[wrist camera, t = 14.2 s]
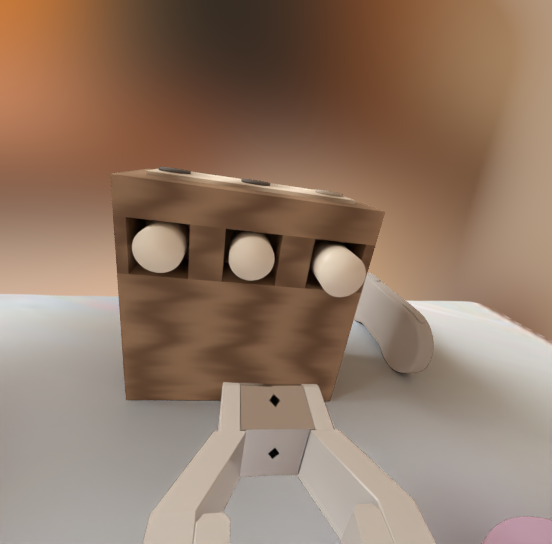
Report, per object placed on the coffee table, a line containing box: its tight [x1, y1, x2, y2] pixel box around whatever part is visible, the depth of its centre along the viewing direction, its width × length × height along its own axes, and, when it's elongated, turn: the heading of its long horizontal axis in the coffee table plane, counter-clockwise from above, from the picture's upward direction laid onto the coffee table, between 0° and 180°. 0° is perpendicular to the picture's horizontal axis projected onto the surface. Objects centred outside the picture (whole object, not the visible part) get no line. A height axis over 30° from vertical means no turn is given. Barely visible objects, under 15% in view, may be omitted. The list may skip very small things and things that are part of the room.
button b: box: [309, 240, 366, 297], centre depth 23 cm, size 4×4×4 cm
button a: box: [132, 220, 190, 273], centre depth 22 cm, size 4×4×4 cm
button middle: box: [229, 230, 275, 281], centre depth 23 cm, size 4×4×4 cm
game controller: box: [354, 272, 433, 373], centre depth 40 cm, size 20×2×8 cm, turn 9°
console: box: [110, 167, 385, 401], centre depth 27 cm, size 20×8×20 cm, turn 98°
